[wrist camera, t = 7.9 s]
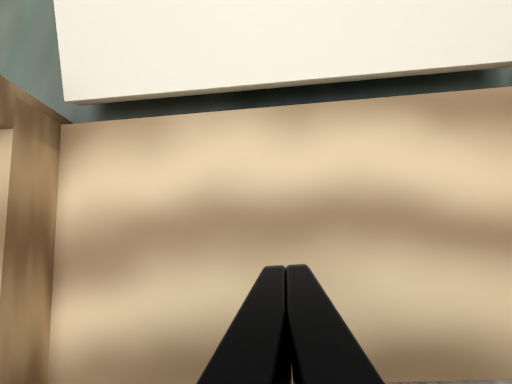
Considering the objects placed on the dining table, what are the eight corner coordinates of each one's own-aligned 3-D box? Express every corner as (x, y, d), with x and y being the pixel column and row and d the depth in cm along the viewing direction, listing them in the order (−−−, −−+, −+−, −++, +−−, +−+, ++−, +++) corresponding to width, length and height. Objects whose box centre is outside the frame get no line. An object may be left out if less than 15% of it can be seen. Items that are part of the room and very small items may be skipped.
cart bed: (586, 363, 19) (1179, 552, 6) (48, 377, 21) (-321, 531, 9) (533, 95, 22) (869, -160, 9) (61, 133, 24) (-205, -23, 11)
